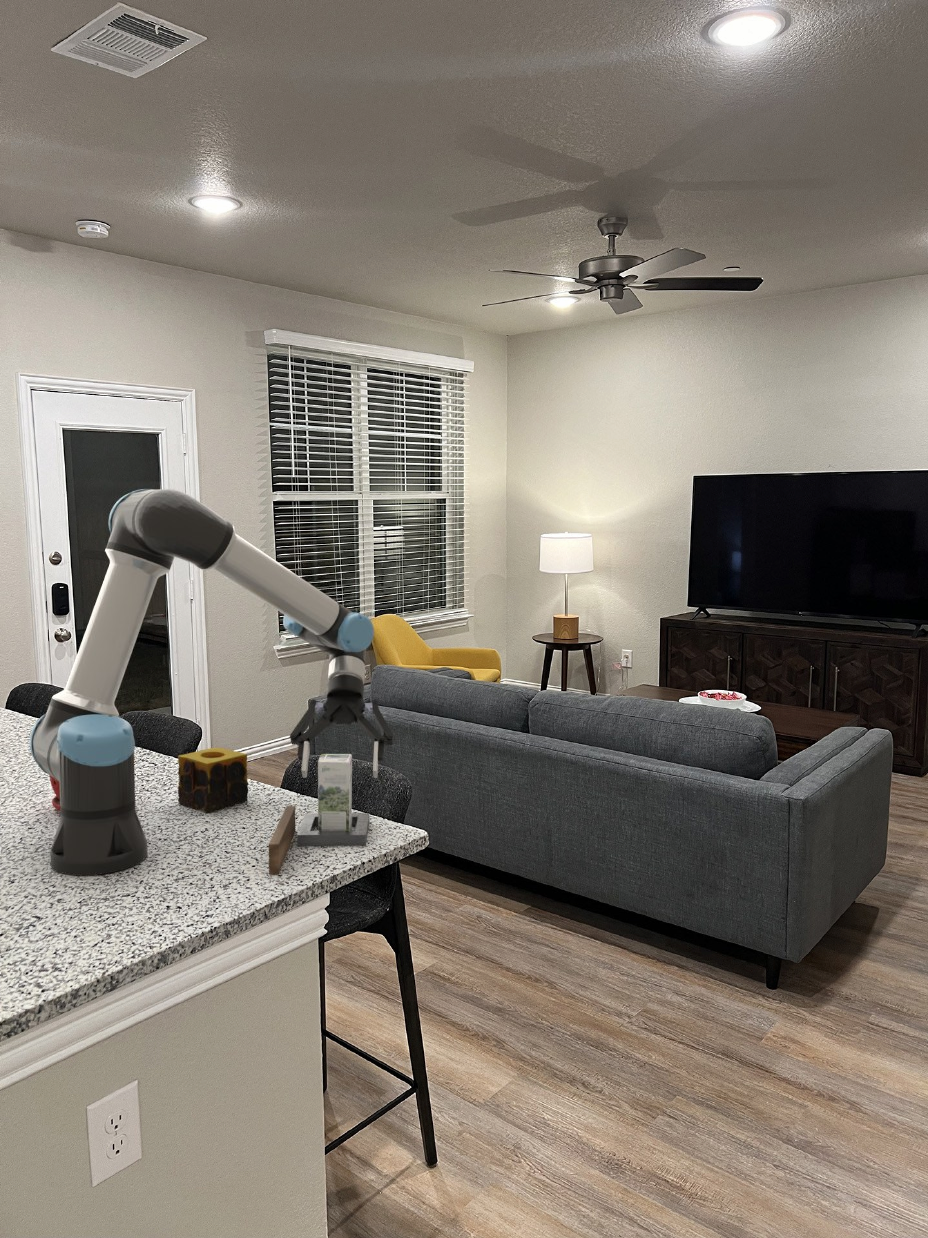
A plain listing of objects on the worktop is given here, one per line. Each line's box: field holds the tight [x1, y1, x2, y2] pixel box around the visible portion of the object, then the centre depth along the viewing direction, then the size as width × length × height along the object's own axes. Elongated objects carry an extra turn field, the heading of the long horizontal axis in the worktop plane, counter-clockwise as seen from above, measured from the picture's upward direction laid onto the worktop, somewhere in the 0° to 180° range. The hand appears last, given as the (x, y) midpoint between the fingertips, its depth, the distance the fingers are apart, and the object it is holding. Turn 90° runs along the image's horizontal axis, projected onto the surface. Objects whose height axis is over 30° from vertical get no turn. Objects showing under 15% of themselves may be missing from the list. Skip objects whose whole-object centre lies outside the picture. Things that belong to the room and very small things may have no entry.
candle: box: [177, 746, 249, 814], centre depth 188 cm, size 10×10×10 cm
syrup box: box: [317, 753, 353, 831], centre depth 170 cm, size 6×6×14 cm
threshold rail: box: [268, 805, 296, 875], centre depth 161 cm, size 2×20×5 cm, turn 3°
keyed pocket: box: [296, 812, 371, 847], centre depth 171 cm, size 12×12×2 cm
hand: (339, 774), depth 180 cm, fingers open, 13 cm apart
